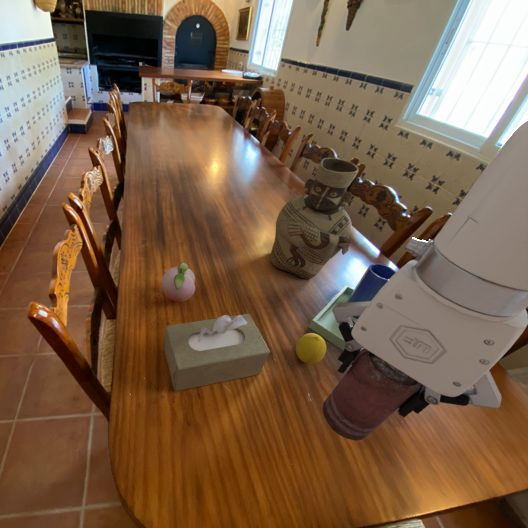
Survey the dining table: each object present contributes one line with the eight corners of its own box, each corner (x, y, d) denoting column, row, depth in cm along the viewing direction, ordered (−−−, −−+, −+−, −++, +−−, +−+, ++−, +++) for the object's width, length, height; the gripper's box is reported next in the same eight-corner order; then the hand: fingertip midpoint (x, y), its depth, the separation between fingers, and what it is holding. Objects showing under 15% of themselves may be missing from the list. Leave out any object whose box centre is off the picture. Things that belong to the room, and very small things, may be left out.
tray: (430, 340, 71) (437, 333, 69) (406, 392, 60) (413, 386, 58) (342, 290, 82) (346, 283, 81) (308, 326, 72) (312, 320, 70)
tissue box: (172, 392, 57) (178, 343, 47) (162, 349, 64) (165, 298, 54) (261, 374, 61) (284, 325, 51) (242, 335, 68) (259, 286, 58)
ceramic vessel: (300, 293, 80) (349, 191, 61) (253, 249, 94) (280, 155, 75) (347, 276, 88) (405, 180, 68) (297, 237, 102) (332, 149, 82)
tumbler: (371, 313, 76) (401, 273, 68) (363, 325, 73) (393, 284, 64) (348, 300, 80) (374, 259, 71) (339, 311, 76) (365, 270, 67)
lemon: (291, 367, 63) (304, 344, 58) (290, 345, 67) (302, 323, 62) (318, 374, 62) (334, 352, 57) (315, 352, 66) (330, 329, 61)
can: (323, 389, 45) (365, 331, 36) (368, 411, 43) (425, 355, 34) (315, 424, 41) (360, 368, 32) (365, 451, 39) (429, 399, 30)
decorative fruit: (162, 284, 79) (164, 254, 73) (192, 286, 79) (197, 257, 73) (159, 310, 72) (160, 280, 66) (192, 313, 72) (197, 283, 66)
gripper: (352, 245, 28) (293, 356, 39) (633, 373, 18) (449, 470, 30) (379, 220, 32) (319, 327, 43) (620, 313, 22) (463, 419, 34)
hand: (373, 384), depth 36 cm, fingers closed on can, 6 cm apart
